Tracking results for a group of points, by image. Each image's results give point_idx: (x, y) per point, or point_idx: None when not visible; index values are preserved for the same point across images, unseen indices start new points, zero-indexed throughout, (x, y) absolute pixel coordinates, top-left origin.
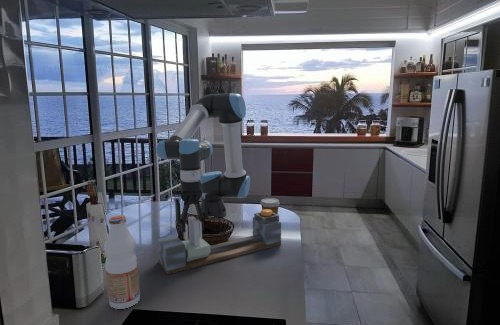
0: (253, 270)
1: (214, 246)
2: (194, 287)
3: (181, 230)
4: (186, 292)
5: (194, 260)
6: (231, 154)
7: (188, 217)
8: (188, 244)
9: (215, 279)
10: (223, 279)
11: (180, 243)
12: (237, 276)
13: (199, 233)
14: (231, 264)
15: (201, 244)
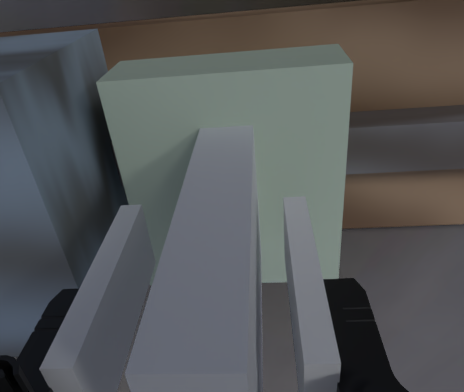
0: (453, 352)
1: (421, 143)
2: None
3: (52, 311)
4: (126, 365)
5: None
6: None
7: (131, 388)
8: (176, 187)
9: (262, 342)
10: (293, 354)
11: None
12: None
13: (287, 277)
14: (405, 272)
15: (283, 235)
